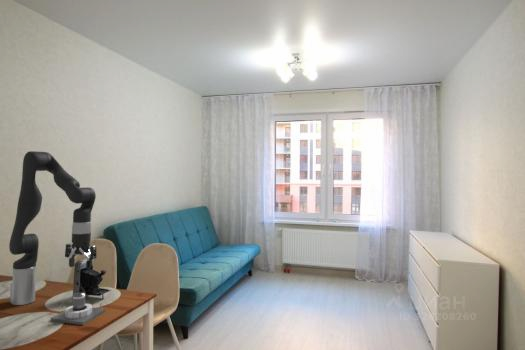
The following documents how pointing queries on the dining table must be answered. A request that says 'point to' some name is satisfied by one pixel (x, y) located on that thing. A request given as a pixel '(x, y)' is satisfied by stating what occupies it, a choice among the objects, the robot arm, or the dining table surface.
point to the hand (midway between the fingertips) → (80, 267)
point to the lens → (79, 301)
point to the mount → (78, 315)
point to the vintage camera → (87, 280)
